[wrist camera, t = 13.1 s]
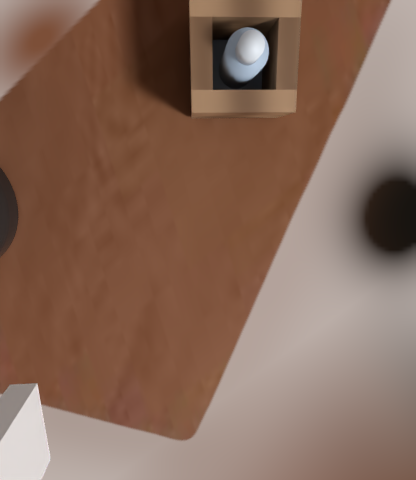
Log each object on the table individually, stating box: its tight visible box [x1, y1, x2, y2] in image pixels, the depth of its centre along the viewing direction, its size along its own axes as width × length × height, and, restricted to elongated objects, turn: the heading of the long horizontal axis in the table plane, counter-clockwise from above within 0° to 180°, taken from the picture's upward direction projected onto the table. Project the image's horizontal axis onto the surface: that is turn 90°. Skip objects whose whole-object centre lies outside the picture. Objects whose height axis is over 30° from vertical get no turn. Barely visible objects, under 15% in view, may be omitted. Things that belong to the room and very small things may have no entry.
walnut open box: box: [189, 0, 302, 118], centre depth 31 cm, size 9×9×6 cm
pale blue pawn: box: [212, 27, 269, 90], centre depth 30 cm, size 7×7×9 cm
